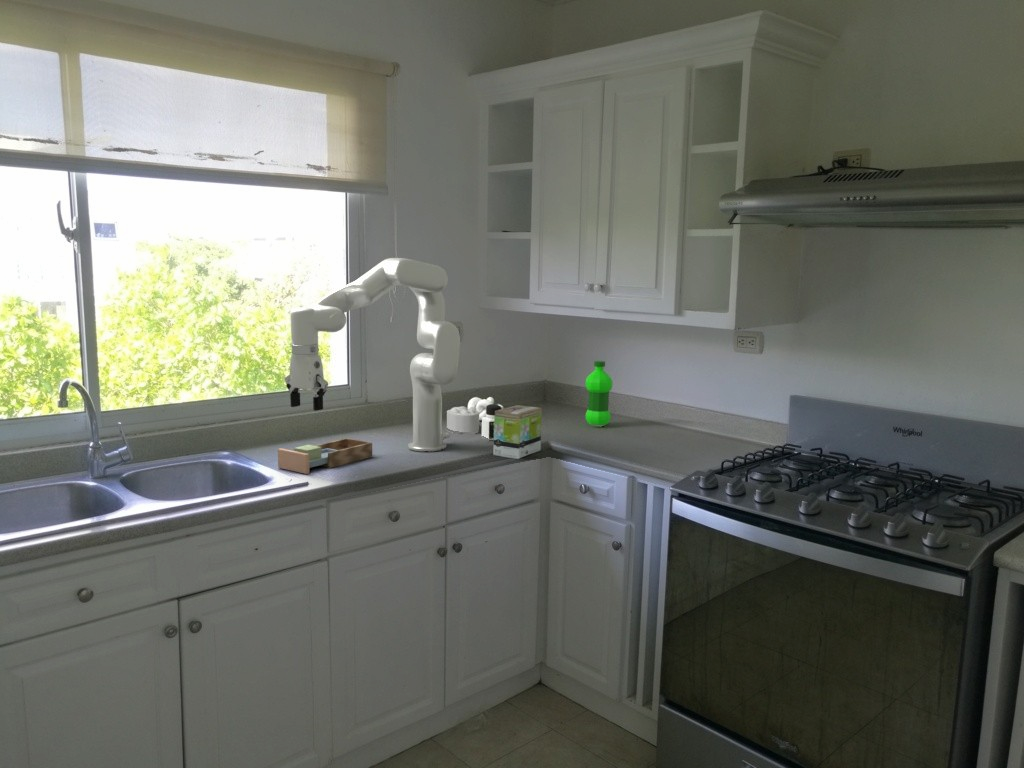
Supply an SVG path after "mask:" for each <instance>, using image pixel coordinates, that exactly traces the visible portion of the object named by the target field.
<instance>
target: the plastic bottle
mask: <svg viewBox="0 0 1024 768" xmlns="http://www.w3.org/2000/svg"><path fill="white" fill-rule="evenodd" d="M593 366H594V369H595V370H593V371H592V372H591V373H590V374H588V376H587V377H586V379H585V387H586V388H585V389H586V390H587V391H588V399H587V400H588V404H587V405H588V406H587V407H588V408H587V410H586V412H585V420H586V422H587V423H588V425H590V424H594V425H605V424H607V425H608V424H609V423H610V421H611V417H612V416H611V414H610V413H611V412H610V411H609V410H610V409H609V400H610V399H609V396H610V395H609V394H610V391H611V390H612V388H613V380H612V377H611V375H609V374H608V373H607V372H606V371H605V369H604V367H606V361H605V360H594V361H593ZM605 426H606V425H605Z"/></svg>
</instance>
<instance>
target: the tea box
mask: <svg viewBox="0 0 1024 768" xmlns="http://www.w3.org/2000/svg"><path fill="white" fill-rule="evenodd" d="M542 418H543V408H542V407H537V406H536V407H535V406H528V405H520V404H517V405H512V406H508V407H503V409H500V410H496V411H495V419H494V440H493V447H492V449H493V456H497V457H503V458H509V459H516V460H519V459H522V458H523V457H526V456H529V455H531V454H535V453H537V452H540V451H541V449H542V445H541V444H542V425H543V424H542V423H543V422H542V420H543V419H542Z"/></svg>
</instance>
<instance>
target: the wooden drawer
mask: <svg viewBox="0 0 1024 768" xmlns="http://www.w3.org/2000/svg"><path fill="white" fill-rule="evenodd" d="M333 451H338V450H335V449H329V448H325V449H321V458H319V459H315V460H311V461H309V454H306V453H301V452H297V451H294V450H291V449H287V448H282V447H280V448H277V465H278V466H277V467H278V468H279V469H282V470H288V471H290V472H291V471H292V472H297V473H301V474H305V475H306V474H307V475H308V474H310V469H311V468H313V467H318V466H319V465H323V464H326V463H328V453H329V452H333ZM319 467H320V466H319Z"/></svg>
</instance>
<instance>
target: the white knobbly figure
mask: <svg viewBox="0 0 1024 768" xmlns="http://www.w3.org/2000/svg"><path fill="white" fill-rule="evenodd" d="M490 404H495V399H494V398H493V397H492V396H489V397H487V398H486V399H485V398H483V399H482V398H480V397H478V396H475V397H472V398H471V399H469V401H468V402H467V409H469V408H470V407H475V408H476V411H478V412H479V420H482V417H487V416H486V406H487V405H490Z"/></svg>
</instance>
